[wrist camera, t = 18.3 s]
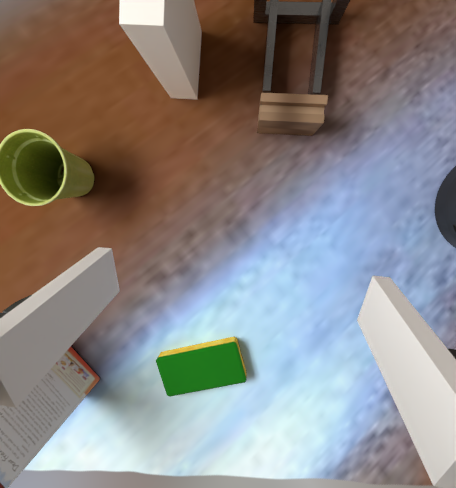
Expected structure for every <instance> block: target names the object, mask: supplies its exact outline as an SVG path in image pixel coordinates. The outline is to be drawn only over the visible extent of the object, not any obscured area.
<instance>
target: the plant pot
mask: <svg viewBox="0 0 456 488" xmlns="http://www.w3.org/2000/svg"><path fill="white" fill-rule="evenodd" d="M63 167H64V170H63V173H62V175H61V170H62V168H63ZM0 184H1V186H2V187H3V189H4V190H5V191H6V193H7V194H8V195H9V196H10V197H12V198H13V199H14V200H16V201H18V202H20V203H22V204H25V205H29V206H41V205H45V204H48V203H50V202H52V201H54V200H56V199H62V198H70V197H79V196H83V195H85V194H87V193H88V192H89V191H90V190H91V189H92V187H93V184H94V174H93V172H92V169H91V166H90V165H89V164H88V163H87V162H86V161H85V160H83V159H81V158H80V157H78V156H76V155H74V154H72V153H70V152H68V151H66V150H65V149H63V148H61V147H60V146H59V145H58V143H57V142H56V141H55V140H54V139H52V138H51V137H50V136H48V135H47V134H45V133H43V132H40V131H37V130H33V129H22V130H18V131H15V132H13V133H11V134H9V135H8V136H7V137H6V138H5V139H4V140H3V141H2V143H1V144H0Z"/></svg>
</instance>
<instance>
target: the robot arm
mask: <svg viewBox="0 0 456 488" xmlns="http://www.w3.org/2000/svg"><path fill="white" fill-rule="evenodd" d="M435 217H436V222H437V225H438V228H439V230H440V232H441V233H442V235H443V236H444V238H445V239H446V240H447V241H448V242H449V243H450V244H451V245H452V246H454V247H455V248H456V166H455V167H454V168H453V169H452V170H451V171H450V173H449V174H448V175H447V176H446V178H445V179H444V181H443V182H442V184H441V186H440V188H439V191H438V194H437V197H436V203H435ZM119 291H120V290H119V285H118V279H117V274H116V269H115V263H114V258H113V253H112V249H111V248H101V247H98V248H97V249H95V250H94V251H92V252H91V253H90V254H88V255H87V256H86V257H84V258H83V259H81V260H80V261H79V262H77V263H76V264H74V265H73V266H72V267H70V268H69V269H68V270H66V271H65V272H63V273H62V274H61V275H59V276H58V277H57V278H55V279H54V280H52V281H51V282H50V283H48V284H47V285H46V286H44V287H43V288H41V289H40V290H39V291H37V292H36V293H35V294H33V295H30V296H28V297H26V298H23V299H21V300H19V301H17V302H15V303H14V304H12V305H11V306H9V307H8V308H7V309H5V310H4V311H3V313H0V405H3V406H8V407H14V408H17V406H18V405H19V404H20V403H21V402H22V401H23V400H24V399H25V397H26V396H27V395H28V394H29V393H30V392H31V391H32V390H33V388H34V387H35V386H36V385H37V384H38V383H39V382H40V381H41V379H42V378H43V377H44V376H45V375H46V374H47V373H48V371H49V370H50V369H51V368H52V367H53V366H54V365H55V364H56V362H57V361H58V360H59V359H60V358H61V357H62V356H63V355H64V353H65V352H66V351H67V350H68V349H69V348H70V347H71V345H72V344H73V343H74V342H75V341H76V340H77V339H78V338H79V336H80V335H81V334H82V333H83V332H84V331H85V330H86V329H87V327H88V326H89V325H90V324H91V323H92V322H93V321H94V320H95V318H96V317H97V316H98V315H99V314H100V313H101V312H102V310H103V309H104V308H105V307H106V306H107V305H108V304H109V303H110V301H111V300H112V299H113V298H114V297H115V296H116V295H117V294H118V292H119ZM357 321H358V323H359V326H360V328H361V330H362V332H363V334H364V336H365V339H366V341H367V343H368V345H369V347H370V349H371V352H372V354H373V356H374V358H375V360H376V362H377V365H378V367H379V369H380V371H381V373H382V375H383V378H384V380H385V382H386V384H387V386H388V388H389V391H390V393H391V395H392V397H393V399H394V401H395V404H396V406H397V408H398V410H399V412H400V414H401V417H402V419H403V421H404V423H405V425H406V427H407V430H408V432H409V434H410V436H411V438H412V440H413V443H414V445H415V447H416V449H417V451H418V454H419V456H420V458H421V460H422V462H423V464H424V467H425V469H426V471H427V473H428V475H429V477H430V480H431V482H432V484H433V486H435V487H441V488H456V350H454V349H447V348H446V347H445V345H444V344H443V343H442V342H441V340H440V339H439V338H438V337H437V335H436V334H435V333H434V332H433V330H432V329H431V328H430V327H429V325H428V324H427V323H426V322H425V321H424V319H423V318H422V317H421V316H420V314H419V313H418V312H417V311H416V309H415V308H414V307H413V306H412V304H411V303H410V302H409V301H408V299H407V298H406V297H405V296H404V294H403V293H402V292H401V291H400V289H399V288H398V287H397V286H396V284H395V283H394V282H393V281H392V280H391V278H390V277H380V276H372V279H371V282H370V285H369V288H368V291H367V293H366V296H365V299H364V302H363V305H362V308H361V311H360V313H359V316H358V319H357Z"/></svg>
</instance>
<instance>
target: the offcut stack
mask: <svg viewBox="0 0 456 488" xmlns="http://www.w3.org/2000/svg"><path fill="white" fill-rule="evenodd" d="M327 100H328V95H309V94H284V93H261V98H260V106H259V116H258V128H257V133H268V134H288V135H307V136H312V135H313V134H314V133H315V132H316V131H317V130H318V129H319V128H320V127H321V125H322V124H323V123H324V116H325V115H324V107H325V106H326V105H327Z"/></svg>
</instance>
